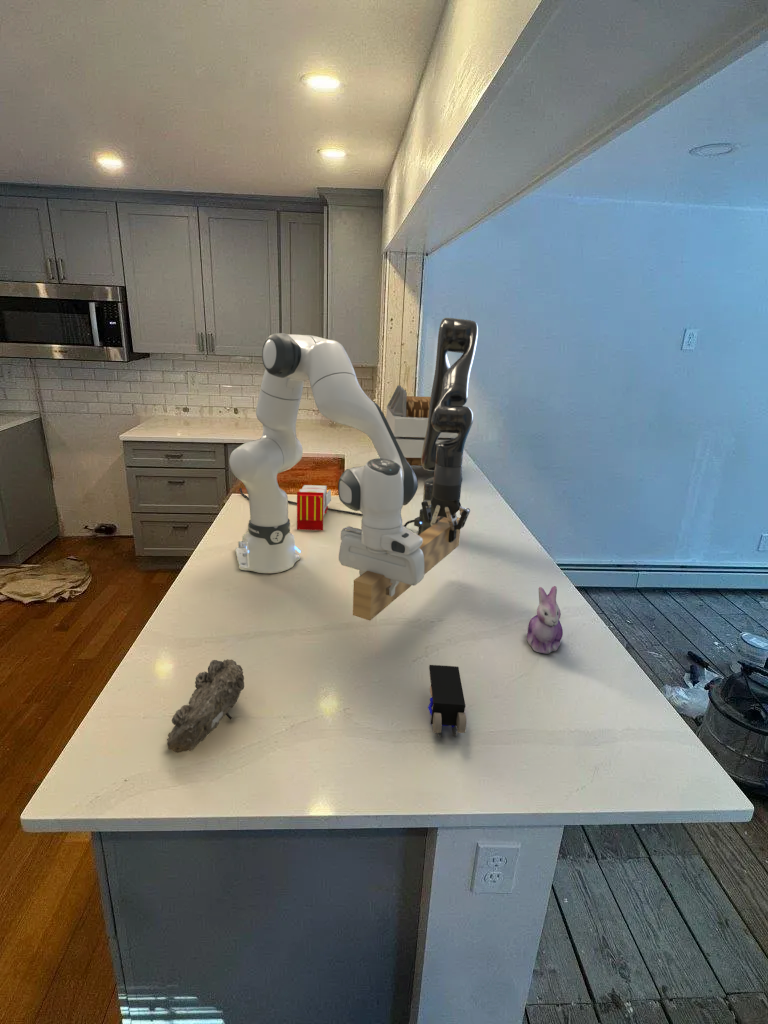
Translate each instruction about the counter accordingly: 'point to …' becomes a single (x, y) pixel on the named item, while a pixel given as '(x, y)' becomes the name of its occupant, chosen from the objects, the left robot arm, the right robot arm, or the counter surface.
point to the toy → (312, 507)
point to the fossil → (206, 705)
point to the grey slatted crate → (411, 424)
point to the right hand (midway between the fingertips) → (442, 539)
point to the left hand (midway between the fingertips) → (379, 591)
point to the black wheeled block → (446, 699)
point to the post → (373, 586)
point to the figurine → (545, 624)
